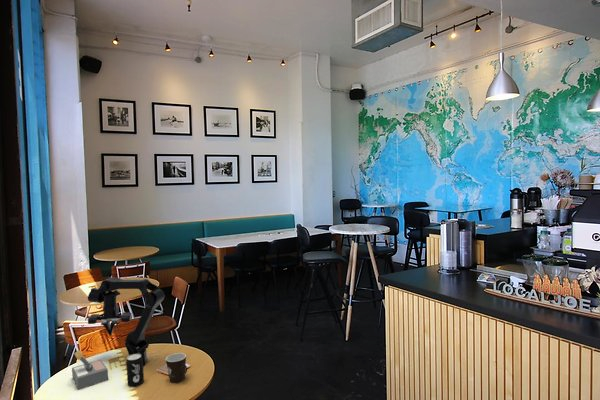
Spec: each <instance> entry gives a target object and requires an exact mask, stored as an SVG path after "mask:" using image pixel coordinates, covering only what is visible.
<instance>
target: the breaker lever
mask: <svg viewBox="0 0 600 400" xmlns="http://www.w3.org/2000/svg"><path fill="white" fill-rule="evenodd" d="M73 355H74V356H75V358H76V359H77V360H78V361H80V362H82V363H83V364H85V365H86V366H87V367H88V369H89V370H91V369H92V368H93V367H92V365H91V364H90V362H89V361H88V359H86V357H84V355H83V353H82V352H81V351H80V349H78V350H77V351H76V352H74V354H73Z"/></svg>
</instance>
